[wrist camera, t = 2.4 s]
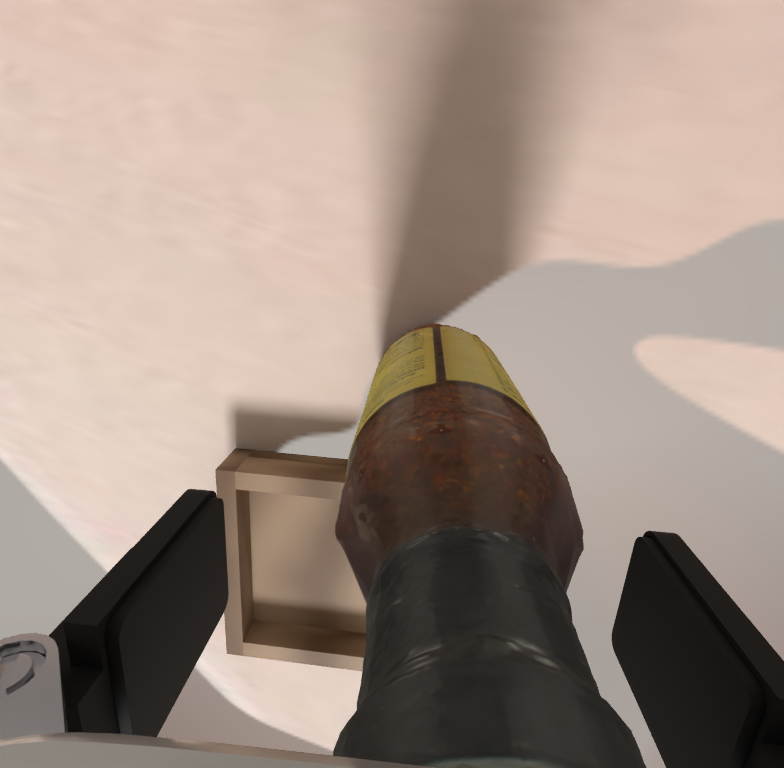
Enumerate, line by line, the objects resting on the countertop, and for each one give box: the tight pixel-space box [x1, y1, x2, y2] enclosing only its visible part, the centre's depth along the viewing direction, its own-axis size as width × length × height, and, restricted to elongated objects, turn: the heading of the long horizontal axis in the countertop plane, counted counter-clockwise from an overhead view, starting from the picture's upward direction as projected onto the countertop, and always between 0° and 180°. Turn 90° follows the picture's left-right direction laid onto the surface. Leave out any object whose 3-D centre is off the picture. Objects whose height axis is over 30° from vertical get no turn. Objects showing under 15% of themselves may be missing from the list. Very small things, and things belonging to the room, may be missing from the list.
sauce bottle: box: [333, 324, 646, 768], centre depth 15 cm, size 7×6×20 cm
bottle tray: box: [216, 449, 367, 671], centre depth 27 cm, size 12×12×2 cm
